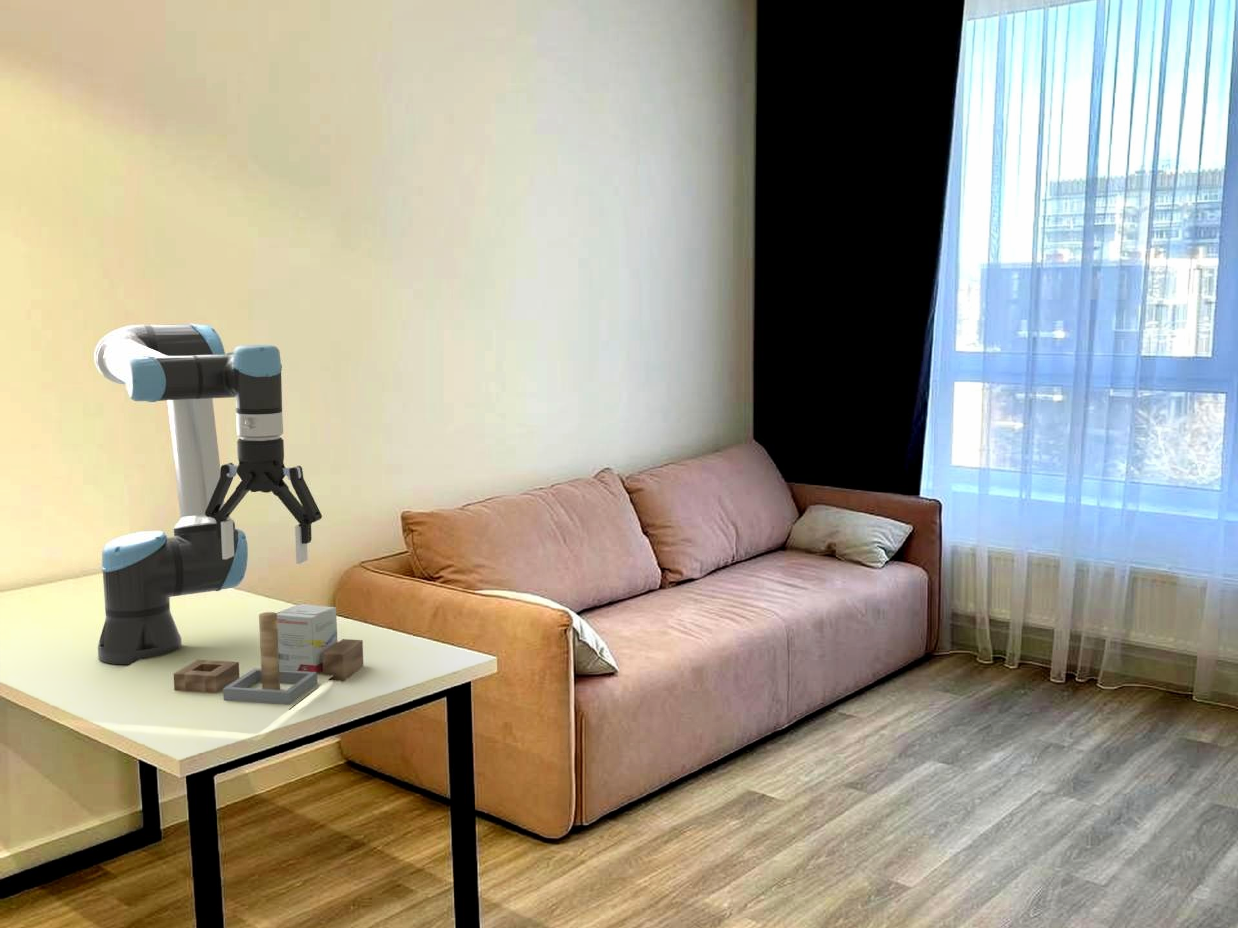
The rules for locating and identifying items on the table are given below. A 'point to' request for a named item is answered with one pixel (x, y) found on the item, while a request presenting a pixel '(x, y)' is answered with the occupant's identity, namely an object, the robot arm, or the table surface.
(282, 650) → the ink box
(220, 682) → the socket block
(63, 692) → the table surface
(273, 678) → the dowel
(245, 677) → the tray
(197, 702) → the table surface
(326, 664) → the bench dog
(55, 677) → the table surface
